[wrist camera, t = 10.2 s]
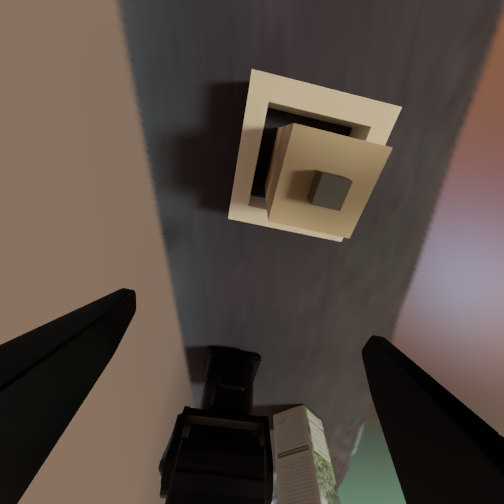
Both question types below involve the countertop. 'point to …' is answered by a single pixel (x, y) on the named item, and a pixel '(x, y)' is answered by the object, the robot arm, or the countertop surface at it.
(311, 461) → the syrup box
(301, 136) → the wooden peg
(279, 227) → the cream square ring
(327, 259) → the countertop surface
